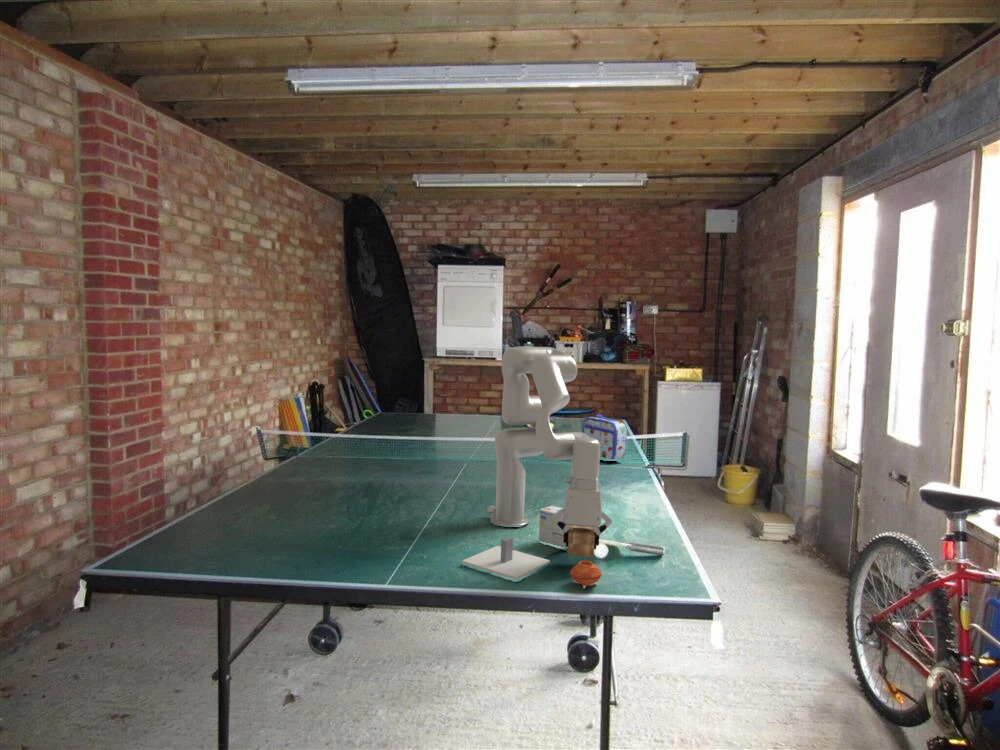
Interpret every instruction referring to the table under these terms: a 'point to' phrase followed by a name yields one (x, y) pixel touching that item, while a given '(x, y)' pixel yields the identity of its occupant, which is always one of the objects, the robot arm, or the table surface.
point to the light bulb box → (551, 527)
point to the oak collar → (581, 541)
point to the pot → (585, 573)
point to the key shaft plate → (506, 568)
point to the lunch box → (607, 435)
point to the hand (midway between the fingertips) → (580, 546)
